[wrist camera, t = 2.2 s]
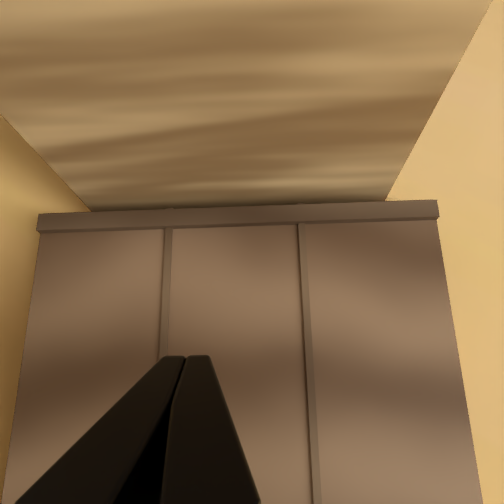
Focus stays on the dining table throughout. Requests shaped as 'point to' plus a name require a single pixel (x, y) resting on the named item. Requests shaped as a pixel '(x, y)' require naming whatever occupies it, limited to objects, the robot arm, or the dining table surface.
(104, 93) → the plank
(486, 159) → the dining table surface
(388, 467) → the wooden panel
